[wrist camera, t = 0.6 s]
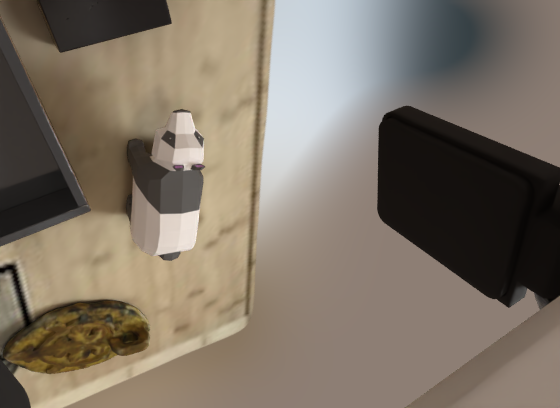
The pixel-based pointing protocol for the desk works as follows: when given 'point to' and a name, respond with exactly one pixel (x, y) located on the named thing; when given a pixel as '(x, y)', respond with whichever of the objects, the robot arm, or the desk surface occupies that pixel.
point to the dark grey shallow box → (30, 157)
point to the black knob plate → (100, 20)
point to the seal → (79, 337)
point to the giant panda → (167, 188)
